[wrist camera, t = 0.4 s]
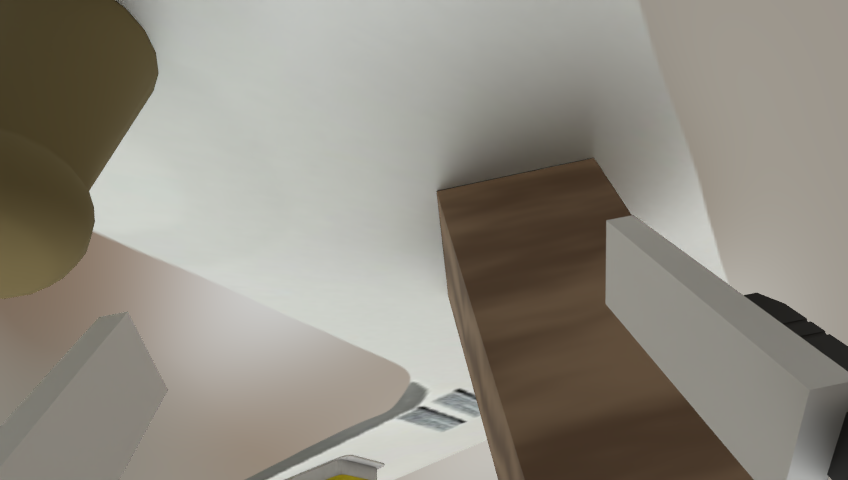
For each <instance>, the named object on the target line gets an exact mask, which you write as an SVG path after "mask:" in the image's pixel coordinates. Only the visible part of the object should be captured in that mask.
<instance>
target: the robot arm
mask: <svg viewBox="0 0 848 480" xmlns="http://www.w3.org/2000/svg"><path fill="white" fill-rule="evenodd" d="M605 304H606V305H607V306H608V307H609V309H610V310H611V311H612V312H613V313H614V314H615V316H616V317H617V318H618V319H619V320H620V322H621V323H622V324H623V325H624V326H625V328H626V329H627V330H628V331H629V332H630V333H631V335H632V336H633V337H634V338H635V339H636V341H637V342H638V343H639V344H640V345H641V347H642V348H643V349H644V350H645V351H646V352H647V354H648V355H649V356H650V357H651V358H652V360H653V361H654V362H655V363H656V364H657V366H658V367H659V368H660V369H661V370H662V371H663V373H664V374H665V375H666V376H667V377H668V379H669V380H670V381H671V382H672V383H673V384H674V386H675V387H676V388H677V389H678V390H679V392H680V393H681V394H682V395H683V396H684V398H685V399H686V400H687V401H688V402H689V403H690V405H691V406H692V407H693V408H694V409H695V411H696V412H697V413H698V414H699V415H700V417H701V418H702V419H703V420H704V421H705V422H706V424H707V425H708V426H709V427H710V428H711V430H712V431H713V432H714V433H715V434H716V436H717V437H718V438H719V439H720V440H721V441H722V443H723V444H724V445H725V446H726V447H727V449H728V450H729V451H730V452H731V453H732V455H733V456H734V457H735V458H736V459H737V460H738V462H739V463H740V464H741V465H742V466H743V468H744V469H745V470H746V471H747V472H748V474H749V475H750V476H751V477H752V478H753V479H754V480H828V477H830V478H831V479H832V480H848V346H846V345H845V344H843V343H842V342H840V341H839V340H837V339H836V338H835V337H833V336H831V335H830V334H829V335H826V333H825V331H824V330H823V329H821V328H820V327H818V326H817V325H815V324H814V323H812V322H807V319H806V318H805V317H803V316H802V315H801V314H799V313H798V312H796V311H795V310H793V309H792V308H790V307H789V306H787V305H786V304H784V303H782V302H779V301H777V300H774V299H771V298H769V297H766V296H764V295H761V294H759V293H754V294H748V295H742V294H741V293H739V292H738V291H737V290H735V289H734V288H733V287H731V286H730V285H728V284H727V283H726V282H724V281H723V280H722V279H720V278H719V277H718V276H716V275H715V274H713V273H712V272H711V271H709V270H708V269H707V268H705V267H704V266H702V265H701V264H700V263H698V262H697V261H696V260H694V259H693V258H691V257H690V256H689V255H687V254H686V253H685V252H683V251H682V250H681V249H679V248H678V247H676V246H675V245H674V244H672V243H671V242H670V241H668V240H667V239H665V238H664V237H663V236H661V235H660V234H659V233H657V232H656V231H654V230H653V229H652V228H650V227H649V226H648V225H646V224H645V223H643V222H642V221H641V220H639V219H638V218H637V217H635V216H634V215H631V216H626V217H621V218H615V219H610V220H606V299H605ZM167 391H168V389H167V387H166V385H165V383H164V381H163V379H162V377H161V375H160V373H159V371H158V369H157V367H156V365H155V363H154V362H153V360H152V358H151V356H150V354H149V352H148V350H147V348H146V346H145V344H144V342H143V340H142V338H141V336H140V335H139V332H138V331H137V328H136V327H135V325H134V323H133V321H132V319H131V317H130V315H129V313H128V312H124V313H119V314H113V315H108V316H103V317H99V318H98V319H97V320H96V321H95V322H94V323H93V324H92V326H91V327H90V328H89V329H88V330H87V331H86V332H85V333H84V334H83V336H82V337H81V338H80V339H79V340H78V341H77V342H76V343H75V344H74V345H73V347H72V348H71V349H70V350H69V351H68V352H67V353H66V354H65V355H64V356H63V358H62V359H61V360H60V361H59V362H58V363H57V364H56V365H55V367H54V368H53V369H52V370H51V371H50V372H49V373H48V374H47V375H46V376H45V378H44V379H43V380H42V381H41V382H40V383H39V384H38V385H37V386H36V387H35V388H34V390H33V391H32V392H31V393H30V394H29V395H28V396H27V397H26V398H25V400H24V401H23V402H22V403H21V404H20V405H19V406H18V407H17V408H16V409H15V411H14V412H13V413H12V414H11V415H10V416H9V417H8V418H7V419H6V421H5V422H4V423H3V424H2V425H1V426H0V480H120V478H121V476H122V474H123V472H124V470H125V469H126V466H127V465H128V463H129V461H130V459H131V457H132V456H133V454H134V452H135V450H136V448H137V446H138V444H139V443H140V441H141V439H142V437H143V435H144V433H145V432H146V430H147V428H148V426H149V424H150V422H151V420H152V419H153V417H154V415H155V413H156V411H157V409H158V407H159V406H160V404H161V402H162V400H163V398H164V396H165V394H166V393H167Z"/></svg>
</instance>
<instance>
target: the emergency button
mask: <svg viewBox="0 0 848 480" xmlns="http://www.w3.org/2000/svg"><path fill="white" fill-rule="evenodd" d="M382 467H384V463H381V462H377V461H373V460H369V459H366V458H362V457H358V456H354V455H345V456H342V457H339V458H337V459H334V460H332V461H329V462H327V463H324V464H322V465H320V466H317V467H315V468H312V469H310V470H307V471H305V472H303V473H300V474H298V475H295V476H293V477H290V478H288V479H285V480H377V469H379V468H382Z"/></svg>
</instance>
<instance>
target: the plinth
mask: <svg viewBox="0 0 848 480" xmlns="http://www.w3.org/2000/svg"><path fill="white" fill-rule="evenodd" d="M437 199H438V208H439V217H440V226H441V235H442V243H443V252H444V261H445V270H446V279H447V288H448V297H449V301H450V304H451V308H452V312H453V315H454V319H455V323H456V326H457V330H458V334H459V337H460V341H461V345H462V348H463V352H464V356H465V359H466V363H467V367H468V370H469V374H470V378H471V381H472V385H473V389H474V392H475V396H476V400H477V403H478V407H479V411H480V414H481V418H482V422H483V425H484V429H485V433H486V436H487V440H488V444H489V447H490V451H491V455H492V458H493V462H494V466H495V469H496V473H497V476H498V480H754V479H753V478H752V477H751V476H750V475H749V474H748V472H747V471H746V470H745V469H744V468H743V466H742V465H741V464H740V463H739V462H738V460H737V459H736V458H735V457H734V456H733V455H732V453H731V452H730V451H729V450H728V449H727V447H726V446H725V445H724V444H723V443H722V441H721V440H720V439H719V438H718V437H717V436H716V434H715V433H714V432H713V431H712V430H711V428H710V427H709V426H708V425H707V424H706V422H705V421H704V420H703V419H702V418H701V417H700V415H699V414H698V413H697V412H696V411H695V409H694V408H693V407H692V406H691V405H690V403H689V402H688V401H687V400H686V399H685V398H684V396H683V395H682V394H681V393H680V392H679V390H678V389H677V388H676V387H675V386H674V384H673V383H672V382H671V381H670V380H669V379H668V377H667V376H666V375H665V374H664V373H663V371H662V370H661V369H660V368H659V367H658V366H657V364H656V363H655V362H654V361H653V360H652V358H651V357H650V356H649V355H648V354H647V352H646V351H645V350H644V349H643V348H642V347H641V345H640V344H639V343H638V342H637V341H636V339H635V338H634V337H633V336H632V335H631V333H630V332H629V331H628V330H627V329H626V328H625V326H624V325H623V324H622V323H621V322H620V320H619V319H618V318H617V317H616V316H615V314H614V313H613V312H612V311H611V310H610V309H609V307H608V306H607V305H606V304H605V299H606V220H610V219H615V218H621V217H626V216H631V214H630V212H629V210H628V209H627V207H626V206H625V204H624V203H623V201H622V200H621V198H620V197H619V195H618V194H617V192H616V191H615V189H614V188H613V186H612V185H611V183H610V182H609V180H608V179H607V177H606V176H605V174H604V173H603V171H602V169H601V168H600V166H599V165H598V163H597V162H596V160H595V159H594V158H592V159H587V160H582V161H578V162H573V163H568V164H563V165H559V166H554V167H549V168H544V169H540V170H535V171H530V172H526V173H521V174H516V175H511V176H507V177H502V178H497V179H493V180H488V181H483V182H478V183H474V184H469V185H464V186H460V187H455V188H450V189H445V190H441V191H437Z"/></svg>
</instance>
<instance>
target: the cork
mask: <svg viewBox="0 0 848 480" xmlns="http://www.w3.org/2000/svg"><path fill="white" fill-rule="evenodd" d="M157 76H158V67H157V59H156V52H155V50H154V48H153V46H152V44H151V42H150V40H149V38H148V36H147V34H146V32H145V30H144V29H143V28H142V27H141V26H140V25H139V23H138V22H137V21H136V20H135V19H134V18H133V17H132V15H131V14H130V13H129V12H128V11H127V10H126V9H125V8H124V7H123V6H121V5H120V4H119V3H117V2H116V1H114V0H0V299H6V298H12V297H17V296H24V295H30V294H33V293H35V292H37V291H39V290H42V289H44V288H46V287H49V286H51V285H52V284H54V283H56V282H57V281H59V280H61V279H62V278H64V277H65V276H66V275H67V274H68V273H69V272H70V271H71V270H72V269H73V268H74V267H75V266H76V265H77V264H78V262H79V261H80V260H81V259H82V257H83V256H84V255H85V253H86V251H87V248H88V245H89V242H90V239H91V234H92V231H93V227H94V222H95V219H94V206H93V203H92V200H91V197H90V193H89V190H90V189H91V187H92V186H93V184H94V182H95V181H96V179H97V178H98V176H99V175H100V173H101V172H102V170H103V168H104V167H105V165H106V164H107V162H108V161H109V159H110V158H111V156H112V154H113V153H114V151H115V150H116V148H117V147H118V145H119V144H120V142H121V140H122V139H123V137H124V136H125V134H126V133H127V131H128V130H129V128H130V126H131V125H132V123H133V122H134V120H135V119H136V117H137V116H138V114H139V112H140V111H141V109H142V108H143V106H144V105H145V103H146V102H147V100H148V98H149V97H150V95H151V94H152V92H153V91H154V87H155V84H156V80H157Z"/></svg>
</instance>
